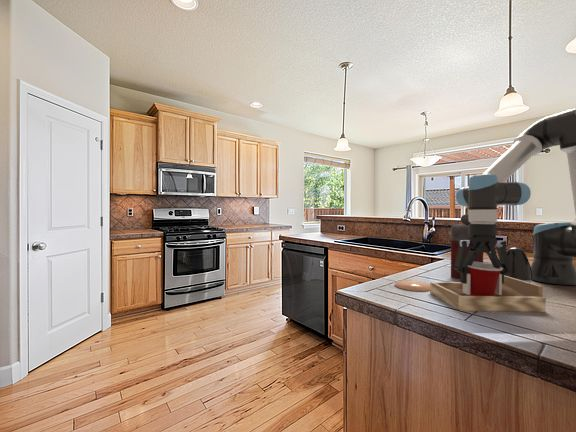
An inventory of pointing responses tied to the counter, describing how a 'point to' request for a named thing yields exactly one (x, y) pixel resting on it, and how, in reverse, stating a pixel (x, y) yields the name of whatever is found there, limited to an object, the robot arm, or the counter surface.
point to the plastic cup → (483, 279)
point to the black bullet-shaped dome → (519, 265)
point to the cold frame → (493, 297)
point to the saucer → (413, 285)
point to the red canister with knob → (458, 234)
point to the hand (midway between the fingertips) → (481, 293)
